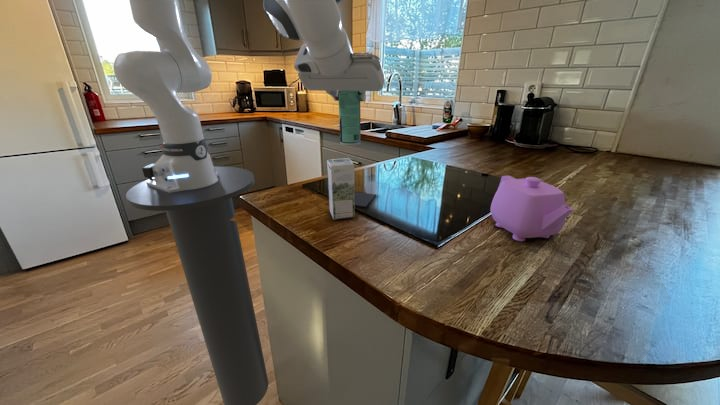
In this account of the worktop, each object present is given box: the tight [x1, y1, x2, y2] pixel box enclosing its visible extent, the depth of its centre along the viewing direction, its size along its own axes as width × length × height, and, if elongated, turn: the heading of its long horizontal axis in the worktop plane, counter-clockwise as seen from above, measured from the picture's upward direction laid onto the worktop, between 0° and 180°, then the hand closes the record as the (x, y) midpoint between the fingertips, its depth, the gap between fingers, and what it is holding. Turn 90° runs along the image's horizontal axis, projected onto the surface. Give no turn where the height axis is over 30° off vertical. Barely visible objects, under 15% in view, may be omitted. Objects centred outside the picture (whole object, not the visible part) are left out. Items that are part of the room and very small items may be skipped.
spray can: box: [338, 91, 362, 147], centre depth 76 cm, size 6×6×20 cm
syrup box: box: [326, 157, 356, 221], centre depth 75 cm, size 6×6×14 cm
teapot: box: [489, 174, 574, 242], centre depth 66 cm, size 20×12×13 cm, turn 12°
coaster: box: [355, 191, 377, 209], centre depth 86 cm, size 9×9×1 cm
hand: (350, 99), depth 76 cm, fingers closed on spray can, 5 cm apart
